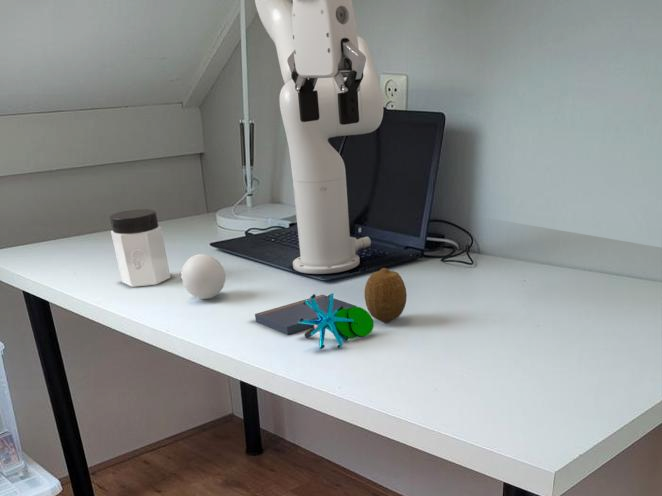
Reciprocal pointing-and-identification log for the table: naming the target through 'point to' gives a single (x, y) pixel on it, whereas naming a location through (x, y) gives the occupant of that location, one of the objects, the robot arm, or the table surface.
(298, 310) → the notebook
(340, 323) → the stick construction toy
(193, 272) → the white sphere
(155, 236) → the jar
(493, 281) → the table surface
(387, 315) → the fruit
